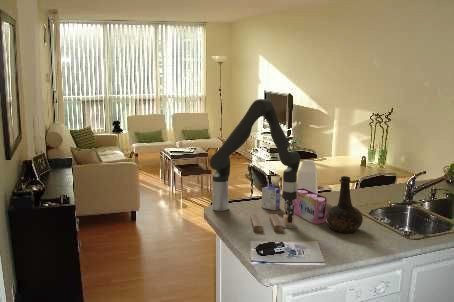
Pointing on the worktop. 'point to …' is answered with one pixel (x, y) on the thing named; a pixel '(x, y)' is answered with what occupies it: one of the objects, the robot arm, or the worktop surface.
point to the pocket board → (273, 220)
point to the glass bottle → (344, 211)
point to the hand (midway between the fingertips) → (288, 220)
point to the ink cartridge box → (271, 197)
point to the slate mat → (290, 226)
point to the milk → (308, 176)
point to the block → (287, 221)
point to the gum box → (310, 206)
